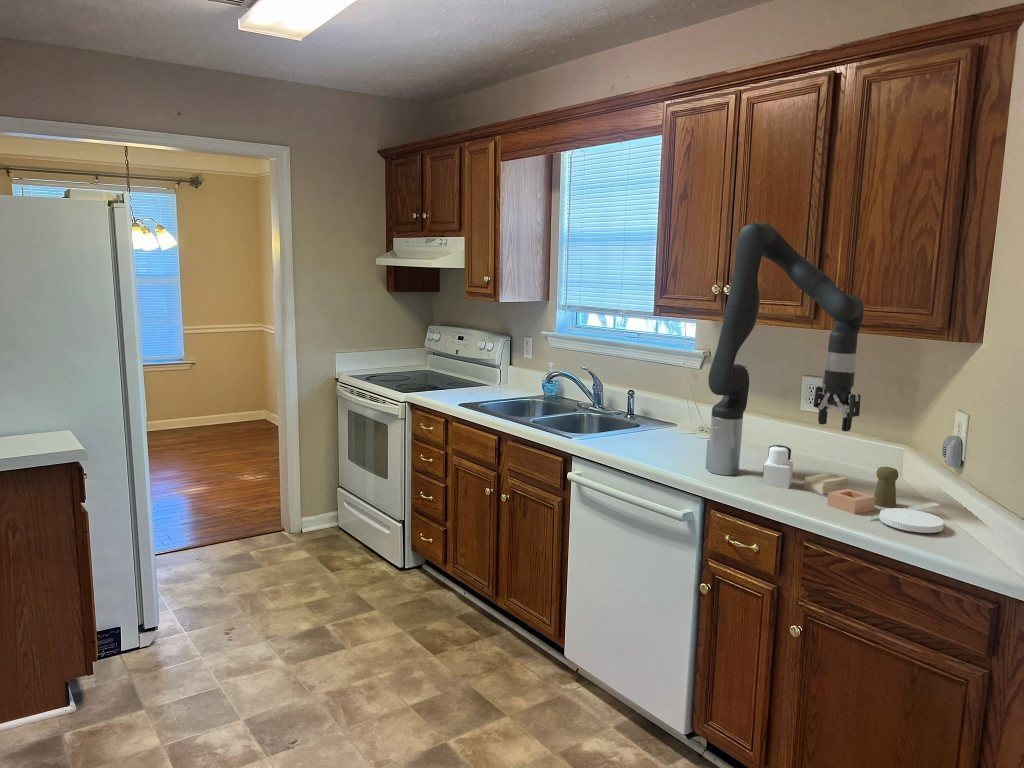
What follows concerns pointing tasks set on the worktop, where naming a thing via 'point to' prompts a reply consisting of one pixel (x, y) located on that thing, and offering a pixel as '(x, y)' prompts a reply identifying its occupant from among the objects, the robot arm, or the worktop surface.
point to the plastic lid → (911, 520)
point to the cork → (886, 487)
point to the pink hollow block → (851, 501)
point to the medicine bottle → (778, 467)
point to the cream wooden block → (825, 483)
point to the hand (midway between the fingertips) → (833, 427)
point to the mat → (810, 491)
